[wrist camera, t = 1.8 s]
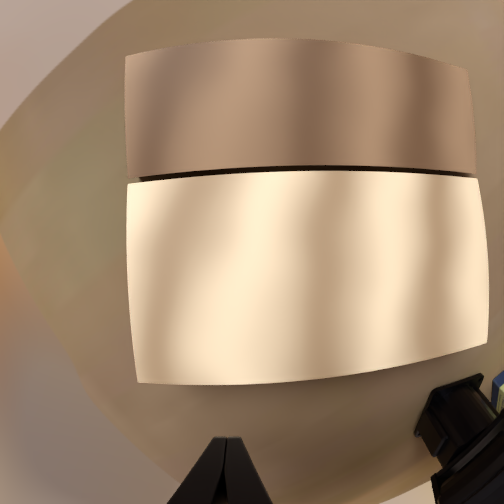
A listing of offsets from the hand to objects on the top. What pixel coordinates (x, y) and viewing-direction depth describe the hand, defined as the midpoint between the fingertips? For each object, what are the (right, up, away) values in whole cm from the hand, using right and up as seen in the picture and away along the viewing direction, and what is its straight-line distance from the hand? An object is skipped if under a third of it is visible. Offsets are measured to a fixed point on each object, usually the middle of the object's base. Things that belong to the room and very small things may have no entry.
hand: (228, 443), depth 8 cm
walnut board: (+4, +14, +7) cm, 16 cm away
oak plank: (+5, +5, +7) cm, 10 cm away
